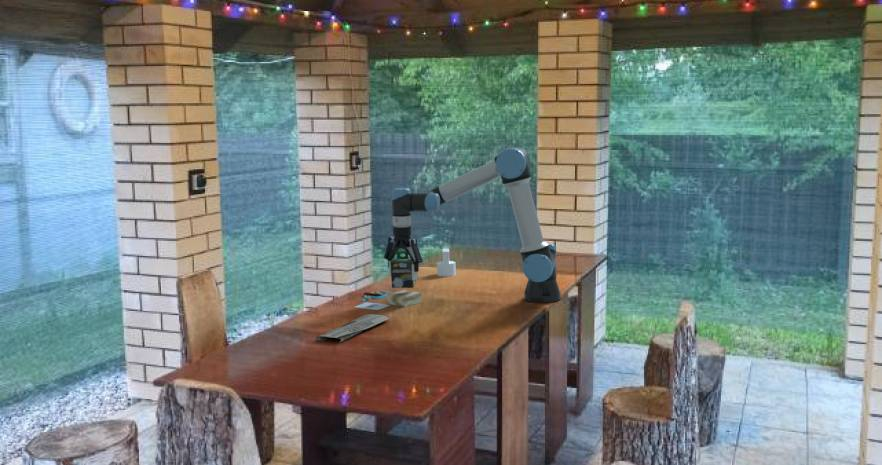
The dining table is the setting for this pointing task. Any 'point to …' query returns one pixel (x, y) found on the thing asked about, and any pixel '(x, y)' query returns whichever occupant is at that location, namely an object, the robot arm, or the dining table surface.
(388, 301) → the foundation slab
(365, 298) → the gear mechanism
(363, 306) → the blueprint sheet
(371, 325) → the newspaper
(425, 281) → the dining table surface
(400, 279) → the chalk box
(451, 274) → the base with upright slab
